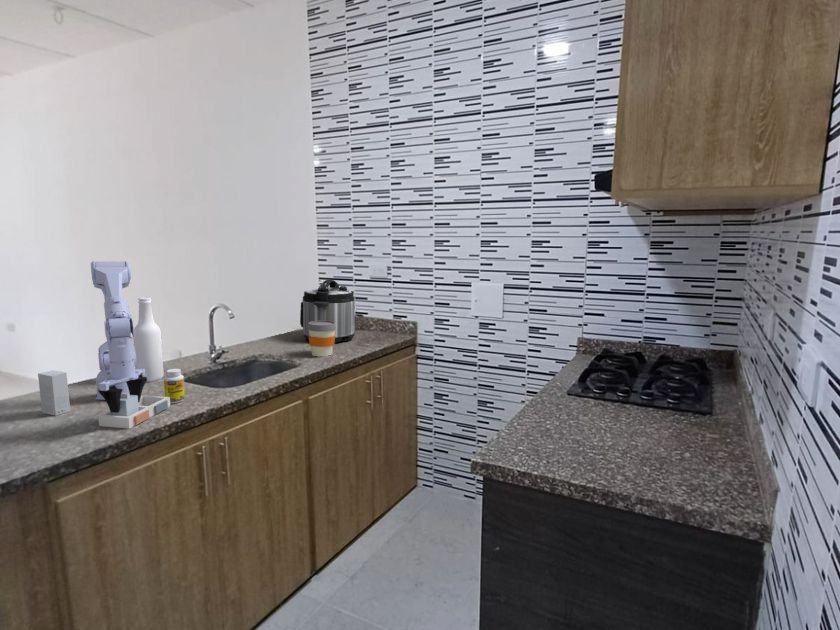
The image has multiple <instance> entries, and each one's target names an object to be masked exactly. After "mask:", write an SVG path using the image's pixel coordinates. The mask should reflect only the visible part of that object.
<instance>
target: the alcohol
mask: <svg viewBox="0 0 840 630" xmlns="http://www.w3.org/2000/svg"><path fill="white" fill-rule="evenodd" d="M137 300H138V321H137V324H136V325H135V326H134V337H133V336H132V338H133V345H134V347H135V353H136V366H135V370H136V369H145V375H144V376H142V377H147V381H146V383H152V382H157V381H159V380H161V379H163V377H165V376H164V358H163V343H162V342H163V340H162V331H161V328H160V326H159V325H158V323H156V322H155V320H154V313H153V307H152V302H153V301H152V298H151V297H149V296H148V297H147V296H146V297H143V296H142V297H138V299H137Z"/></svg>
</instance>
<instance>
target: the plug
mask: <svg viewBox="0 0 840 630" xmlns="http://www.w3.org/2000/svg"><path fill="white" fill-rule="evenodd" d="M138 411H139V408H138V396H137V395H129V393H121V397H120V411H119V412H118V413H113V412H112V415H115V416H130V415H132V414H134V413H136V412H138Z"/></svg>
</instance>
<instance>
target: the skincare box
mask: <svg viewBox="0 0 840 630" xmlns="http://www.w3.org/2000/svg"><path fill="white" fill-rule="evenodd" d="M67 375H68V374H67V372H65V371H61V370H60V371H58V370H49V371H43V372H40V373H38V374H37V377H38V387H39V397H40V398H39V399H40V407H41V413H42V414H45V413H46V415H50V416H54V415H55V417H56V416H61V415H63V414H66V413H69V412H71V406H70V405H71V404H70V396H69V395H70V394H69V386H68V376H67Z"/></svg>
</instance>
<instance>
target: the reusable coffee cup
mask: <svg viewBox="0 0 840 630" xmlns="http://www.w3.org/2000/svg"><path fill="white" fill-rule="evenodd" d="M335 329H336V324H335V322H333V321H312V322H309V323H308V330H309V341H308V342H309V346H310V349H311V356H312V355H313V356H312V357H314V356H328V355H331V354H332V355H333V348H334V345H335V343H336V342H335ZM332 355H331V356H332Z"/></svg>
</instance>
